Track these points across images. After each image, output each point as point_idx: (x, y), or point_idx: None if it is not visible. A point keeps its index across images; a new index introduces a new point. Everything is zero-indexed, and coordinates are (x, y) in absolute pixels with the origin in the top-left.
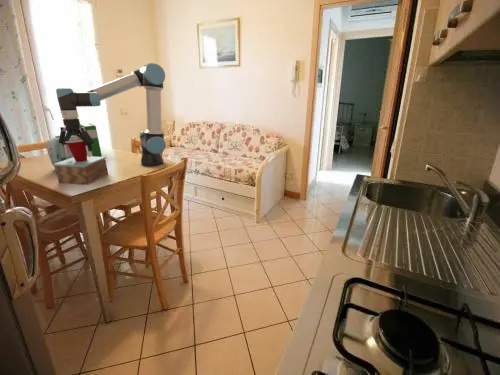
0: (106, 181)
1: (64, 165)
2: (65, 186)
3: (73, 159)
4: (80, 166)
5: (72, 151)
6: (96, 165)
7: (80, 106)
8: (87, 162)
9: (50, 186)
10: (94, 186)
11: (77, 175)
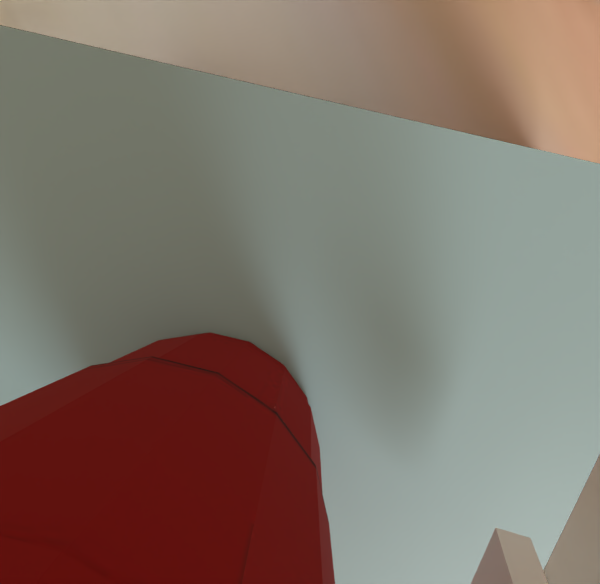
0: None
1: (406, 122)
2: (385, 21)
3: (412, 519)
4: (29, 32)
5: (166, 433)
6: None
7: None
8: (12, 258)
9: (590, 27)
10: (43, 12)
11: None
